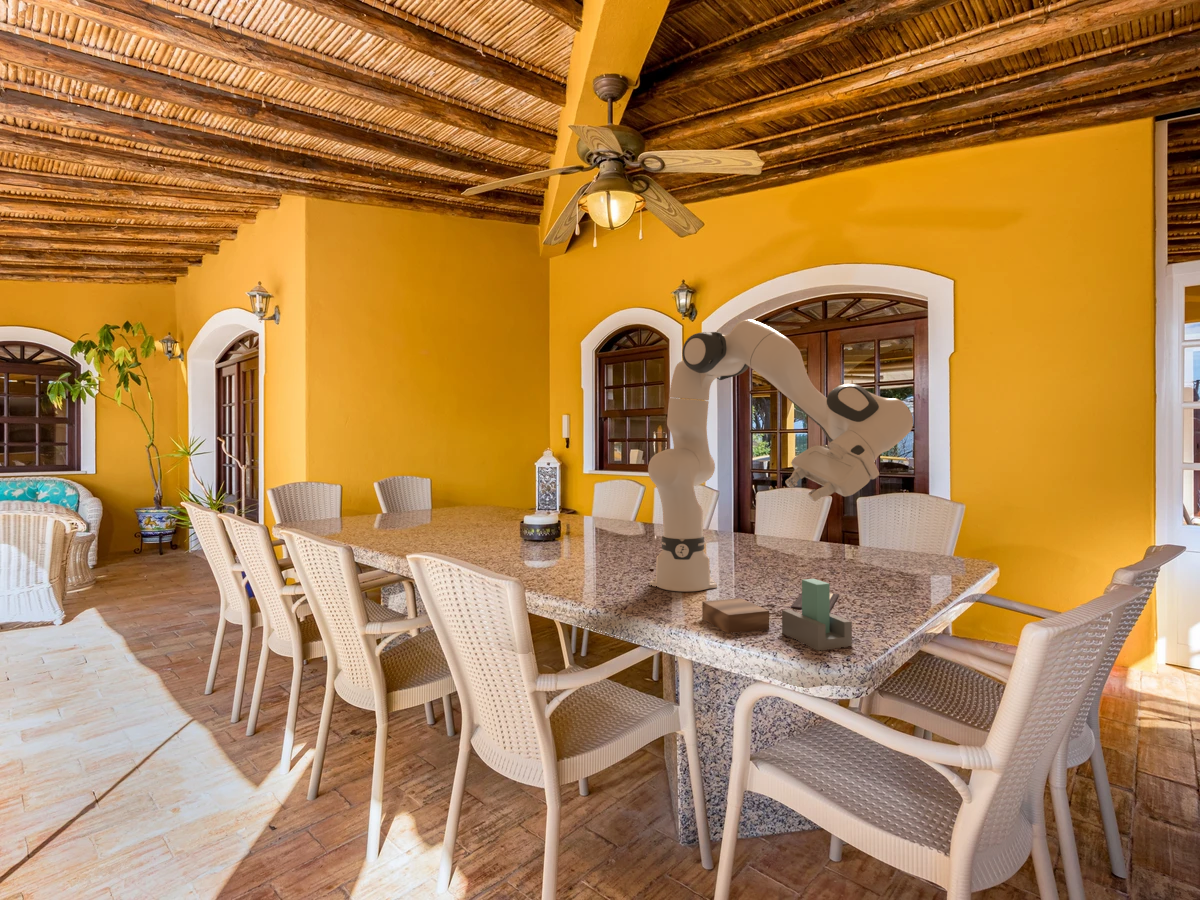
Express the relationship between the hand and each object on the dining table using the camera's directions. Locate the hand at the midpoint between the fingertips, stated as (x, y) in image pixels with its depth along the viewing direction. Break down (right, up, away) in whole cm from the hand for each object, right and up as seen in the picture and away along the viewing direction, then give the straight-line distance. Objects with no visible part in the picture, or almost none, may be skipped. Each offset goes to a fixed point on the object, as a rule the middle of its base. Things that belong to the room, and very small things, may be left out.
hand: (799, 491), depth 138 cm
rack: (+1, -30, -7) cm, 31 cm away
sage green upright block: (+1, -28, -7) cm, 29 cm away
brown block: (-13, -30, +4) cm, 33 cm away
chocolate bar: (+11, -30, +23) cm, 40 cm away
